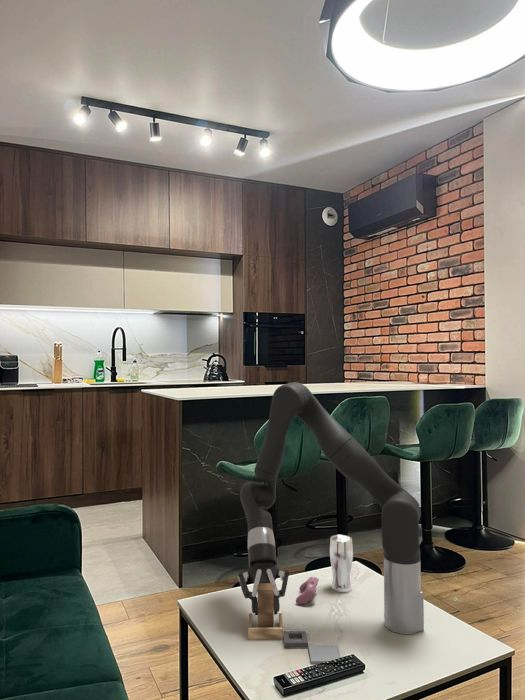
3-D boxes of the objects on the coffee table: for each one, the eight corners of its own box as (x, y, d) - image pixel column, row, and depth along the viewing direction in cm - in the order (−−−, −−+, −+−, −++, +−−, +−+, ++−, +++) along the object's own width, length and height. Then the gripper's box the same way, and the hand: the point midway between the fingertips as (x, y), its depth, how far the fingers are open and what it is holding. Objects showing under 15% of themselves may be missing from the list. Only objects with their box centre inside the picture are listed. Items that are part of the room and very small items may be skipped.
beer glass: (356, 586, 157) (356, 537, 157) (347, 595, 151) (347, 543, 152) (335, 581, 161) (335, 533, 161) (326, 589, 155) (325, 539, 155)
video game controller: (308, 612, 144) (319, 590, 143) (294, 603, 145) (305, 581, 144) (312, 596, 154) (322, 576, 153) (298, 588, 154) (308, 568, 154)
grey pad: (337, 647, 123) (337, 644, 123) (342, 663, 116) (342, 661, 116) (308, 647, 123) (308, 644, 123) (311, 664, 116) (311, 661, 116)
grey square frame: (305, 635, 128) (305, 630, 128) (308, 647, 122) (308, 642, 122) (283, 635, 128) (283, 631, 128) (284, 648, 122) (284, 642, 122)
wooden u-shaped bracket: (281, 622, 134) (281, 613, 135) (283, 639, 126) (283, 628, 126) (248, 623, 134) (248, 613, 134) (248, 639, 126) (248, 629, 126)
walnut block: (273, 626, 133) (273, 583, 133) (273, 634, 129) (273, 589, 129) (257, 626, 133) (257, 583, 133) (257, 634, 129) (257, 589, 129)
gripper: (236, 542, 138) (238, 609, 126) (288, 540, 139) (296, 606, 127) (235, 555, 143) (237, 621, 131) (285, 553, 145) (292, 618, 132)
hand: (266, 613), depth 129 cm, fingers closed on walnut block, 4 cm apart
